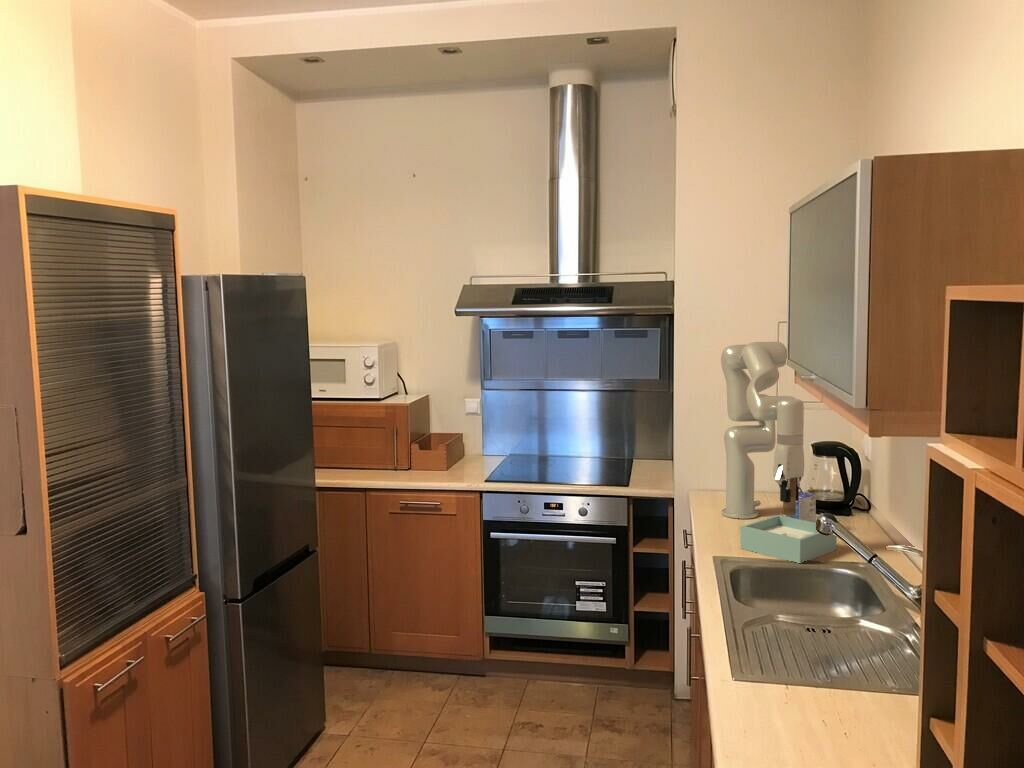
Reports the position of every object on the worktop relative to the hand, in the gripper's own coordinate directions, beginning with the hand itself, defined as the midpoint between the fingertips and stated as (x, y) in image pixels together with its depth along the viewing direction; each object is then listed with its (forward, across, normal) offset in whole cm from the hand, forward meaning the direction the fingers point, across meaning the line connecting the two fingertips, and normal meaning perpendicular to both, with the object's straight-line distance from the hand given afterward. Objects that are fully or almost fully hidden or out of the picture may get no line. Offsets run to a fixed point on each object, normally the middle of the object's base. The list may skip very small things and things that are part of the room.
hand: (789, 500), depth 249 cm
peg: (+4, 0, 0) cm, 4 cm away
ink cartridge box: (+15, -20, -8) cm, 27 cm away
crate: (+15, 0, 0) cm, 15 cm away
